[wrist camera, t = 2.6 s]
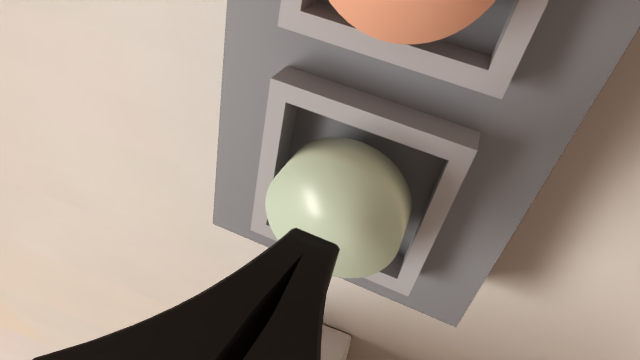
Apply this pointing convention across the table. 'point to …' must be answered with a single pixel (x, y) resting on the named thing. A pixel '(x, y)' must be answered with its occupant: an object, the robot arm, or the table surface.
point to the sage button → (343, 202)
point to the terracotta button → (410, 18)
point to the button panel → (416, 122)
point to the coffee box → (334, 344)
